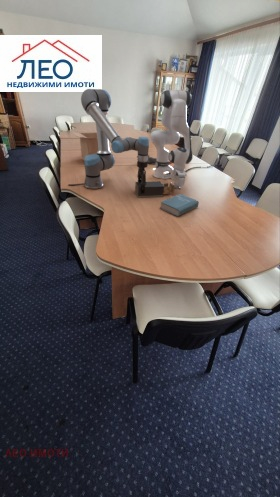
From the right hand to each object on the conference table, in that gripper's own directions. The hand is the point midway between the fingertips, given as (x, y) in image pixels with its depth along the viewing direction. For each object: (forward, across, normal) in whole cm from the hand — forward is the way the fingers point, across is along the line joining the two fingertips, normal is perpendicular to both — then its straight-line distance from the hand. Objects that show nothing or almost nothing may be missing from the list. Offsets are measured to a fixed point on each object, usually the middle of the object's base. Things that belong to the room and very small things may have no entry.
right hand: (175, 188), depth 177 cm
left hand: (+1, 0, -29) cm, 29 cm away
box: (+5, -90, -61) cm, 109 cm away
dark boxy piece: (+4, 0, -22) cm, 22 cm away
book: (+4, +27, -6) cm, 28 cm away
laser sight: (+5, -83, -2) cm, 83 cm away
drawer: (+3, 0, -10) cm, 10 cm away
